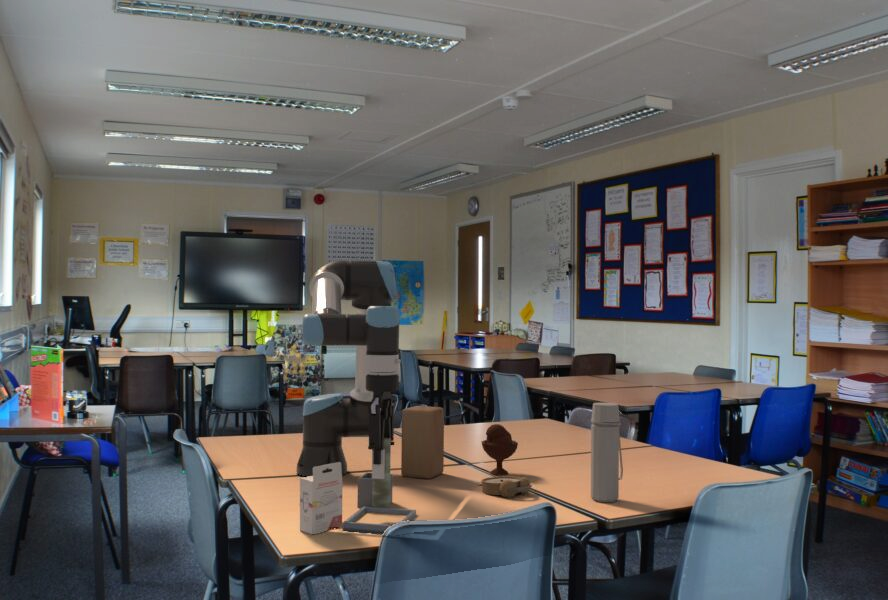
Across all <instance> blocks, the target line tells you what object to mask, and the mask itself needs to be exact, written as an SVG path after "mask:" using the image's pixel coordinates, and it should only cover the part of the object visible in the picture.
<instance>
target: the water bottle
mask: <svg viewBox="0 0 888 600" xmlns="http://www.w3.org/2000/svg"><path fill="white" fill-rule="evenodd" d="M591 411H592V412H591V419H590V422H591V425H590V497H591V499H592V500H593V501H595V502H599V503H614V502H616V501H617V500H618V499H619V497H620V496H619V489H620V488H619V485H620V484H619V481H621V480H622V479H623V474H624V467H623V457H622V456H623V455H622V446H621V436H620V435H621V434H620V432H621V431H620V427H621V426H622V423H621V422H620V421H621V419H620V409H619V404H618V403H614V402H593V403H592V410H591ZM619 461H620V462H619ZM619 463H620V464H619ZM619 466H620V467H619ZM619 469H620V470H619ZM619 473H620V475H619Z"/></svg>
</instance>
